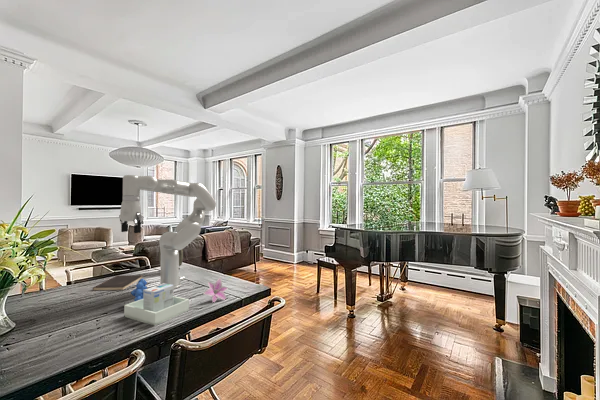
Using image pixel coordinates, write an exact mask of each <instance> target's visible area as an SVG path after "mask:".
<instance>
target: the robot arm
mask: <svg viewBox="0 0 600 400" xmlns="http://www.w3.org/2000/svg"><path fill="white" fill-rule="evenodd" d="M141 191H146V192H153V193H154V192H155V193H162V194H167V195H175V196H184V197H189V198H196V199H195V200H194V201H193V205H192V207H193V209H192V212H191V214H189V215H188V216H187V217H185V218H184V219H183V220H181V221H180V222H179V223H178V224H177V225H176V226H175V227H176V228H175V231H176V232H175V231H165V232H164V233H163V234H161V235H160V237H159V241H158V242H159V251H161V265H160V271H159V273H160V276H159V277H160V279H159V282H160V283H159V284H158V285H160V284H163V283H166V284H171V285H174V290H176V289H178V288H181V287H182V281H184V280H186V277H185V276H179V275H180V272H179V271H180V270H179V268H180V266H179V252H178V250H181V249H182V250H184V249H185V248H186V247H187V246H188V245H189V244H191V243H192V242H193V241H195V239H197V237H198V236H199V235H200V234H201V229H202V227H201V225H202V223H203V222H204V221H205V217H206V212H211V211H214V209H215V208H216V207H217V202H216V200H215V198H214V197H213V195H212V194H211V193H210V191H209V190H208V189H207V188H206V186H205V185H204V184H203V183H200V182H188V181H181V180H177V179H159V178H156V177H154V176H152V175H137V174H135V175H134V174H126V175H124V176H123V177H122V202H121V205H120V212H119V213H120V214H119V216H118V218H119V222H120V225H121V226H120V227H121V229H120V230H121V231H120V232H122V233H126V232H129V223H128V222H133V224H134V225H133V233H134V234H140V233H141V231H142V230H141V228H142V227H141V225H142V223H143V220H144V216H143V215H142V210H141V209H142V208H141V202H140V201H141V199H140V198H141Z"/></svg>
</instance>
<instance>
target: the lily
mask: <svg viewBox="0 0 600 400" xmlns="http://www.w3.org/2000/svg"><path fill="white" fill-rule="evenodd" d="M207 284H208V287H209V288H208V289H206V290H205V291H204V292H203V295H205V296H210V297H212V298H211V301H212V303H213V302H214V303H215V302H216V301H217V300H218V299H221V300H223V301H225V299H227V296H226V293H225V292H226V291H227V290H228V289H229V288H228V287H227V286H223V280H222V278H221V277H219V278H218V279H217V280H216V281H215V282H214V283H213V282H211V281H207Z"/></svg>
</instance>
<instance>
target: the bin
mask: <svg viewBox="0 0 600 400" xmlns="http://www.w3.org/2000/svg"><path fill="white" fill-rule="evenodd" d="M123 306H124V309H123V310H124V315H123V316H124V318H127V319H131V320H134V321H137V322H140V323H143V324H146V325H151V326H155V327H156V326H158V325H161V324H163V323H164V322H167V321H169V320H171V319H173V318H176V317H178V316H180V315H182V314H185V313H186V312H188V311H190V299H189V298H184V297H180V296H174V299H173V305H172V306H170V307H168V308H165V309H163V310H160V311H158V312H152V311H149V310H145V309H143V299H141V300H138V301H133V302H129V303H127V304H124V305H123Z"/></svg>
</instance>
